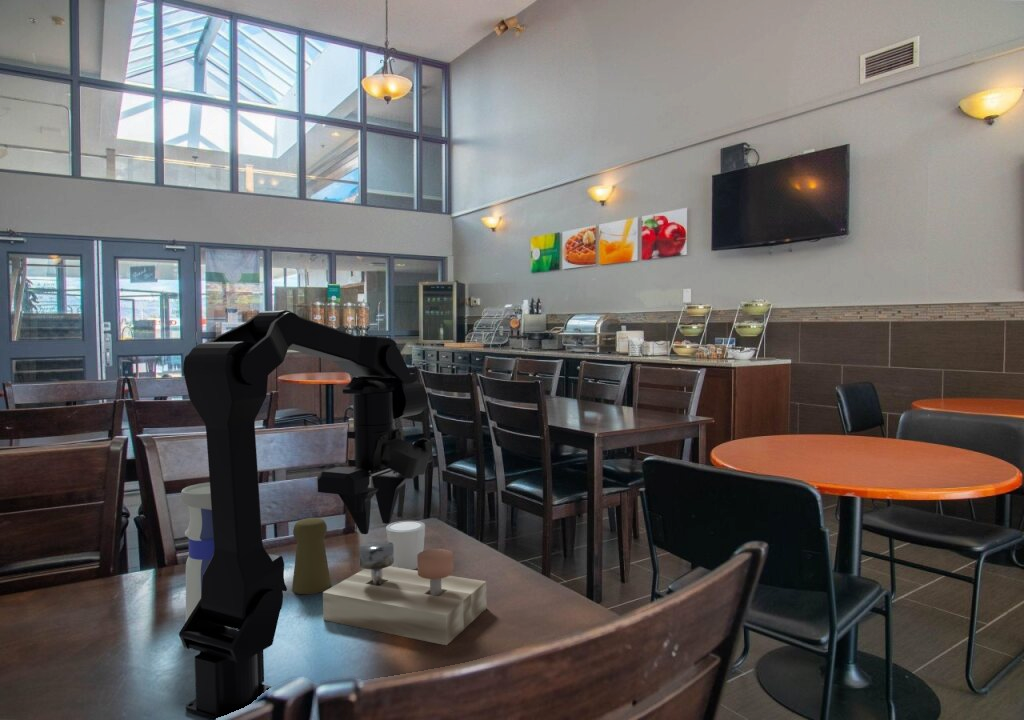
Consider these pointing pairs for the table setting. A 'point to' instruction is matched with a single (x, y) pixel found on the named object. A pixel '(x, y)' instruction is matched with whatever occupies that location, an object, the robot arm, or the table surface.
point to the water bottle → (197, 540)
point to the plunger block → (406, 604)
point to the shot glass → (406, 542)
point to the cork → (310, 557)
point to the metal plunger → (376, 558)
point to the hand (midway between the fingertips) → (375, 528)
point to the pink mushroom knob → (435, 567)
